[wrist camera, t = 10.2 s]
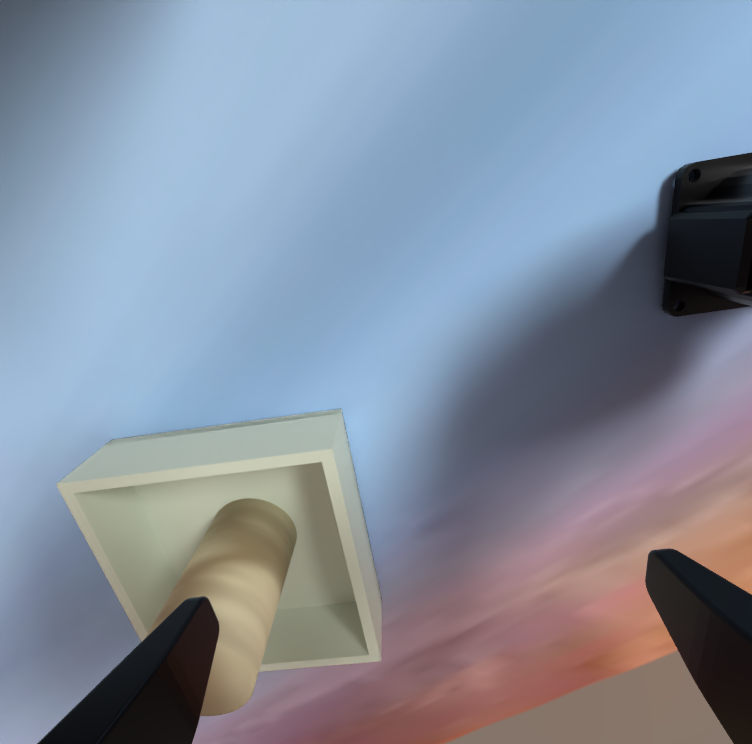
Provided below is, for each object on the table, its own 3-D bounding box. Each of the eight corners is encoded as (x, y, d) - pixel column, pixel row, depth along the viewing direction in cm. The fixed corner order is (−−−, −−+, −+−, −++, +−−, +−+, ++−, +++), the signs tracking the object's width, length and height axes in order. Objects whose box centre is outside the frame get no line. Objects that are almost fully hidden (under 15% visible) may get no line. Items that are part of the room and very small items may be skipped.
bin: (341, 408, 21) (332, 448, 17) (381, 598, 26) (381, 661, 22) (111, 439, 22) (55, 484, 18) (192, 616, 27) (162, 679, 23)
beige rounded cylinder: (284, 493, 22) (232, 631, 15) (305, 558, 24) (268, 711, 17) (202, 504, 23) (111, 642, 15) (228, 567, 25) (158, 719, 17)
